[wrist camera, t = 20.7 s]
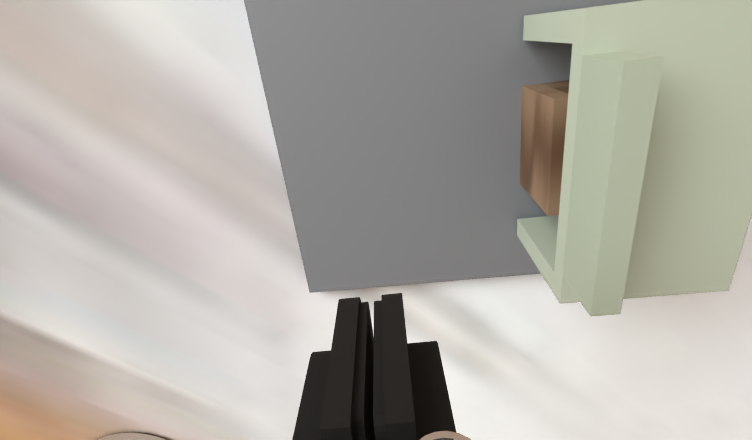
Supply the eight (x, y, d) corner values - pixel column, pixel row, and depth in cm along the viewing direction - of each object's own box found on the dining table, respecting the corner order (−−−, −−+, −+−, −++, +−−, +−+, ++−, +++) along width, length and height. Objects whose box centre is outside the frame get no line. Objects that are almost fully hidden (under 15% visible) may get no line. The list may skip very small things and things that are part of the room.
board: (639, 255, 29) (687, 298, 24) (312, 283, 31) (298, 328, 26) (699, -81, 21) (790, -113, 16) (246, -16, 23) (209, -29, 18)
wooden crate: (617, 172, 25) (666, 203, 21) (519, 183, 26) (547, 216, 21) (630, 72, 23) (690, 82, 18) (521, 86, 23) (554, 99, 19)
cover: (641, 223, 26) (783, 332, 17) (516, 235, 27) (586, 345, 18) (681, -5, 21) (925, -35, 11) (523, 15, 22) (631, 3, 12)
